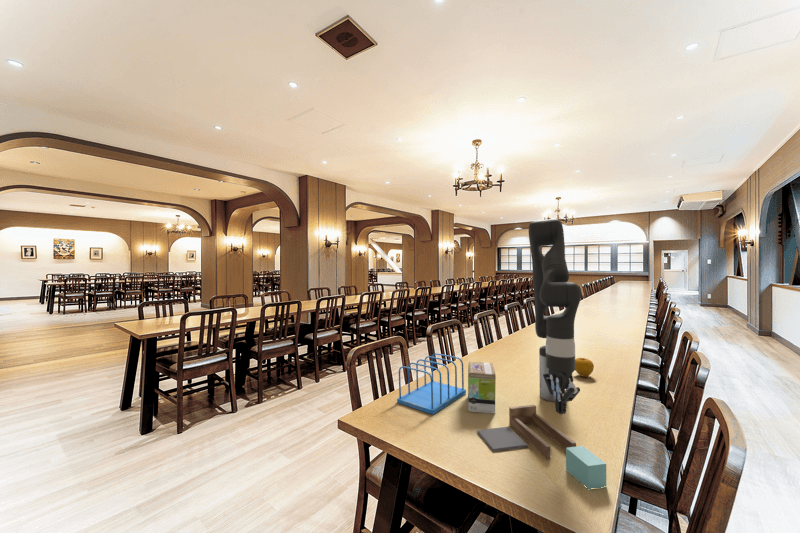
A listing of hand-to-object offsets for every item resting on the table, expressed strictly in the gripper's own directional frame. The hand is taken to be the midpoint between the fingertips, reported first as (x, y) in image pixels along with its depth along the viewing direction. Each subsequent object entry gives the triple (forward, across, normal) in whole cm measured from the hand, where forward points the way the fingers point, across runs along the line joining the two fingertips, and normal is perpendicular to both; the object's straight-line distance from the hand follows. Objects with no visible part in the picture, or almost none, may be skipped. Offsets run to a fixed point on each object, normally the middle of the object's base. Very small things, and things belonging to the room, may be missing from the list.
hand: (560, 412), depth 92 cm
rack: (+12, +9, 0) cm, 16 cm away
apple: (+13, +55, -55) cm, 79 cm away
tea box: (+13, +36, +7) cm, 39 cm away
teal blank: (+12, -10, 0) cm, 16 cm away
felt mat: (+12, +11, +12) cm, 21 cm away
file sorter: (+13, +46, +24) cm, 54 cm away
